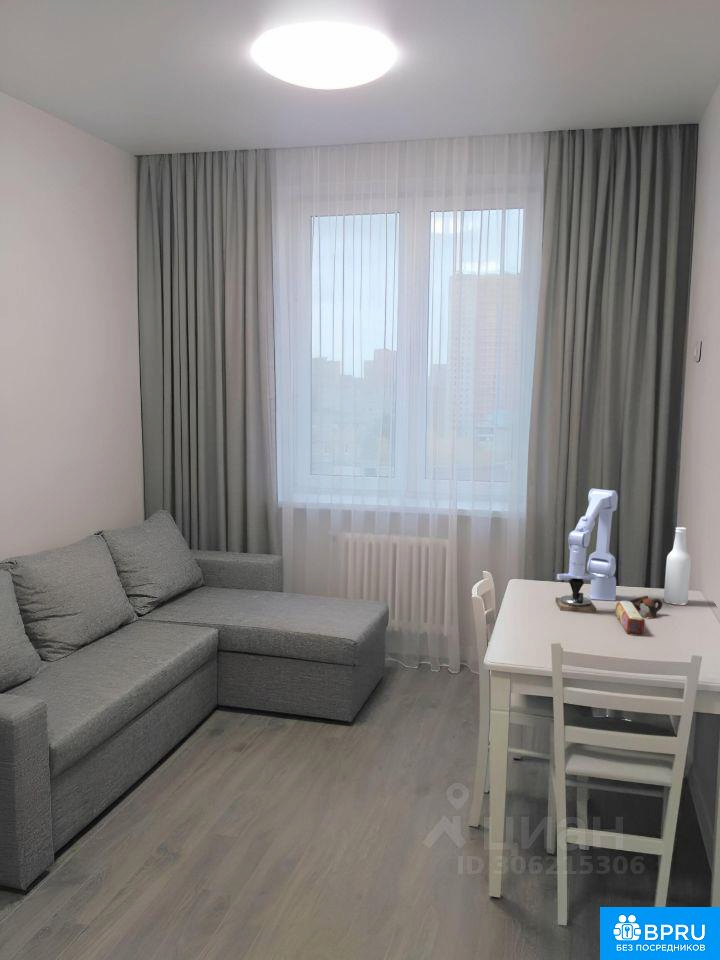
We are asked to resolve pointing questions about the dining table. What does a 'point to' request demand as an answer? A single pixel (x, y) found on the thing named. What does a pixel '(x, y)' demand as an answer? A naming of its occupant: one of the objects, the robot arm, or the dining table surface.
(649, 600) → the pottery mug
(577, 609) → the walnut base
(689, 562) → the alcohol
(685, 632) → the dining table surface
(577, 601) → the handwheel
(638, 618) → the snack package
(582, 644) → the dining table surface
